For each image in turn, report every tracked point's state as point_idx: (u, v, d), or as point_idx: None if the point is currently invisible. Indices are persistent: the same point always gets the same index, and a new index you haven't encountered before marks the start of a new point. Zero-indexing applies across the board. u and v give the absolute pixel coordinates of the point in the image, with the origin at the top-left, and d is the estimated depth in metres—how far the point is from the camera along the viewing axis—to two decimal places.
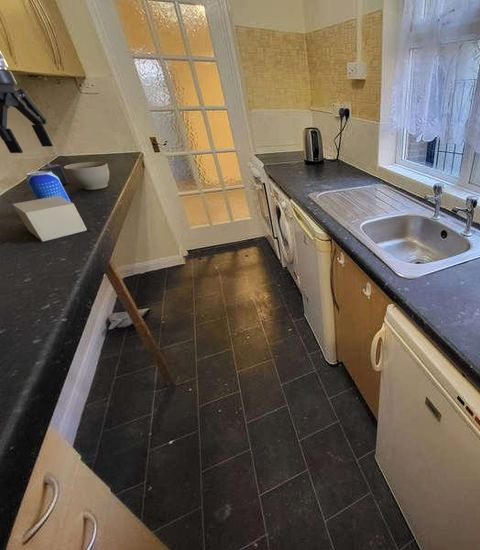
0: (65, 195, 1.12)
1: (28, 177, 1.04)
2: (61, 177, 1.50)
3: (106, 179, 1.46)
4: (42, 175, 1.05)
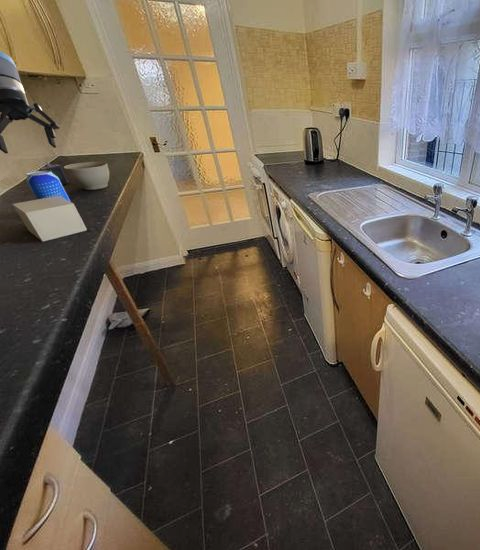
0: (65, 195, 1.12)
1: (28, 177, 1.04)
2: (61, 177, 1.50)
3: (106, 179, 1.46)
4: (42, 175, 1.05)
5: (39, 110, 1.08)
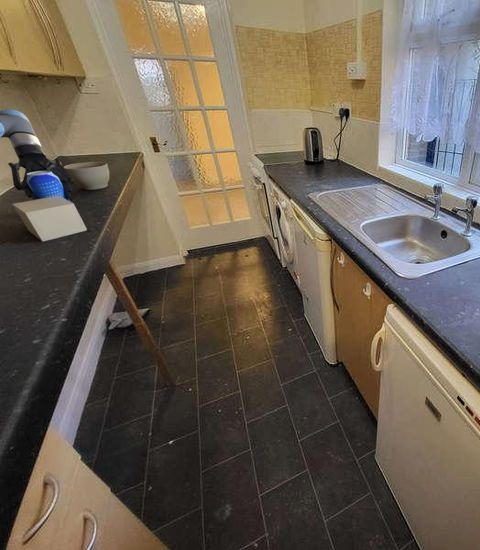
0: (65, 195, 1.12)
1: (28, 177, 1.04)
2: None
3: (106, 179, 1.46)
4: (42, 175, 1.05)
5: (59, 165, 1.13)
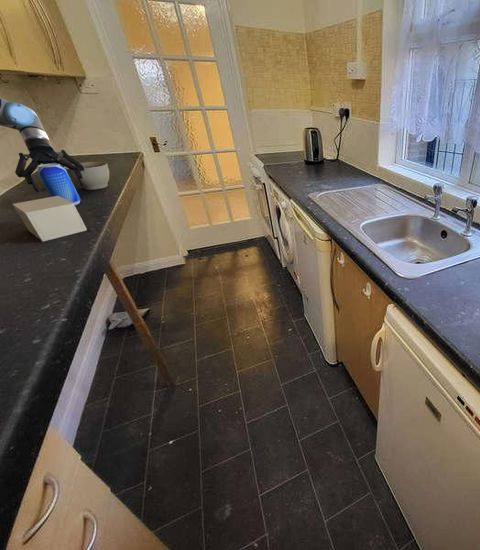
0: (72, 186, 1.23)
1: (39, 169, 1.15)
2: None
3: (106, 179, 1.46)
4: (51, 167, 1.16)
5: (67, 155, 1.24)
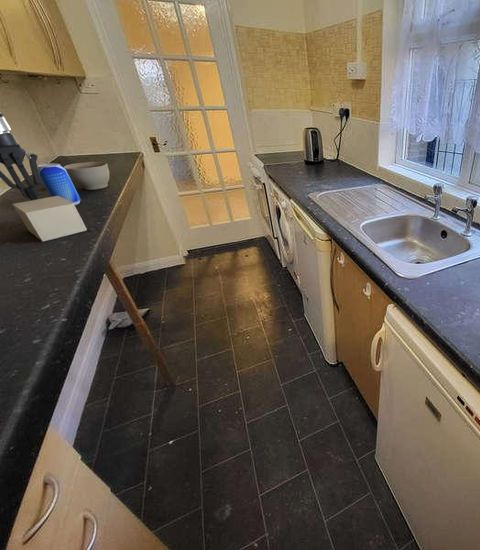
0: (72, 186, 1.23)
1: (39, 169, 1.15)
2: None
3: (106, 179, 1.46)
4: (51, 167, 1.16)
5: (34, 163, 0.99)
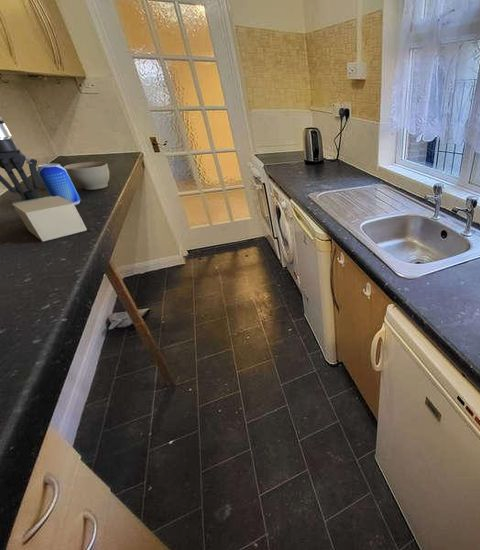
0: (72, 186, 1.23)
1: (39, 169, 1.15)
2: None
3: (106, 179, 1.46)
4: (51, 167, 1.16)
5: (33, 168, 1.02)
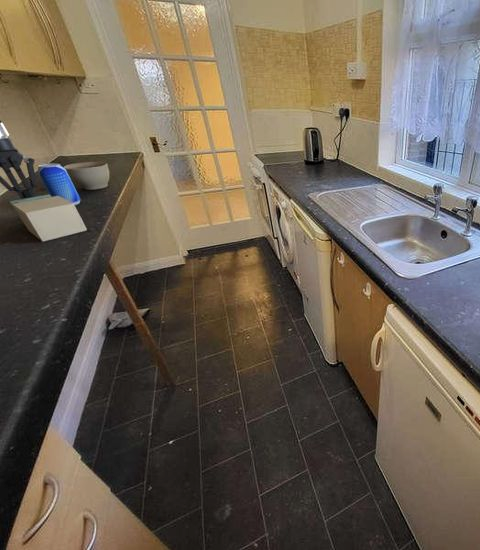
0: (72, 186, 1.23)
1: (39, 169, 1.15)
2: None
3: (106, 179, 1.46)
4: (51, 167, 1.16)
5: (31, 167, 1.04)
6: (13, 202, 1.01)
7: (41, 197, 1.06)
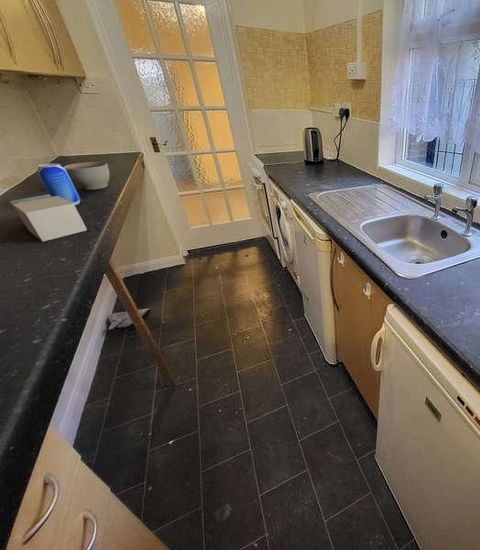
0: (72, 186, 1.23)
1: (39, 169, 1.15)
2: None
3: (106, 179, 1.46)
4: (51, 167, 1.16)
5: None
6: (13, 202, 1.01)
7: (41, 197, 1.07)
